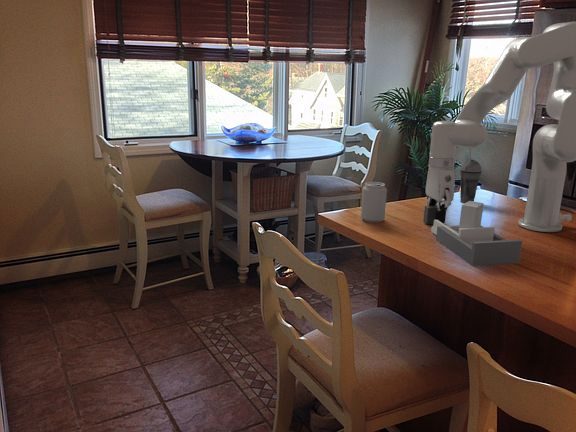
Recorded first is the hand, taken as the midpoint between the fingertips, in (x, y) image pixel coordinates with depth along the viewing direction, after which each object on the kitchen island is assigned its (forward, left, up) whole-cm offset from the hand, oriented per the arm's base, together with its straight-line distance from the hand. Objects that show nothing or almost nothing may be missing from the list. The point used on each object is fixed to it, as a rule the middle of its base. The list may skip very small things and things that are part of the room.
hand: (435, 219), depth 165 cm
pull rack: (0, +11, -1) cm, 11 cm away
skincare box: (0, +19, -2) cm, 19 cm away
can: (+18, -7, -2) cm, 19 cm away
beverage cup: (-24, -23, -2) cm, 34 cm away
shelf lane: (0, +24, -2) cm, 24 cm away
